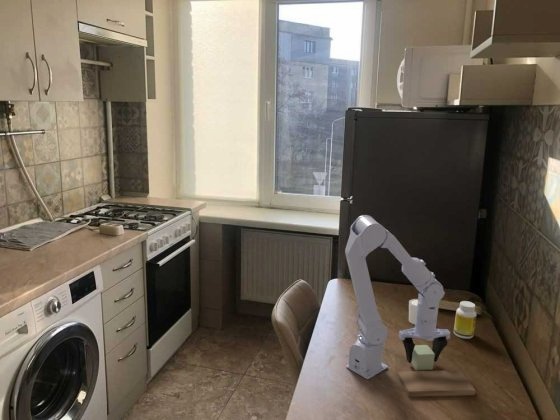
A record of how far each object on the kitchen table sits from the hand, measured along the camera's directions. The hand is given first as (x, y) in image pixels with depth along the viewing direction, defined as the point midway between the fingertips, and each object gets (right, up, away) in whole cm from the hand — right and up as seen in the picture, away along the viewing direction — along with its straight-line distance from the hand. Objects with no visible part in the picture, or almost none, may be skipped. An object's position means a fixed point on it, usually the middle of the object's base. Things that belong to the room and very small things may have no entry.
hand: (421, 360), depth 136 cm
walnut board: (+1, -4, -9) cm, 10 cm away
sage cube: (0, -1, 0) cm, 2 cm away
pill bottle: (+20, +2, +19) cm, 27 cm away
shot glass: (+7, +5, +27) cm, 28 cm away
